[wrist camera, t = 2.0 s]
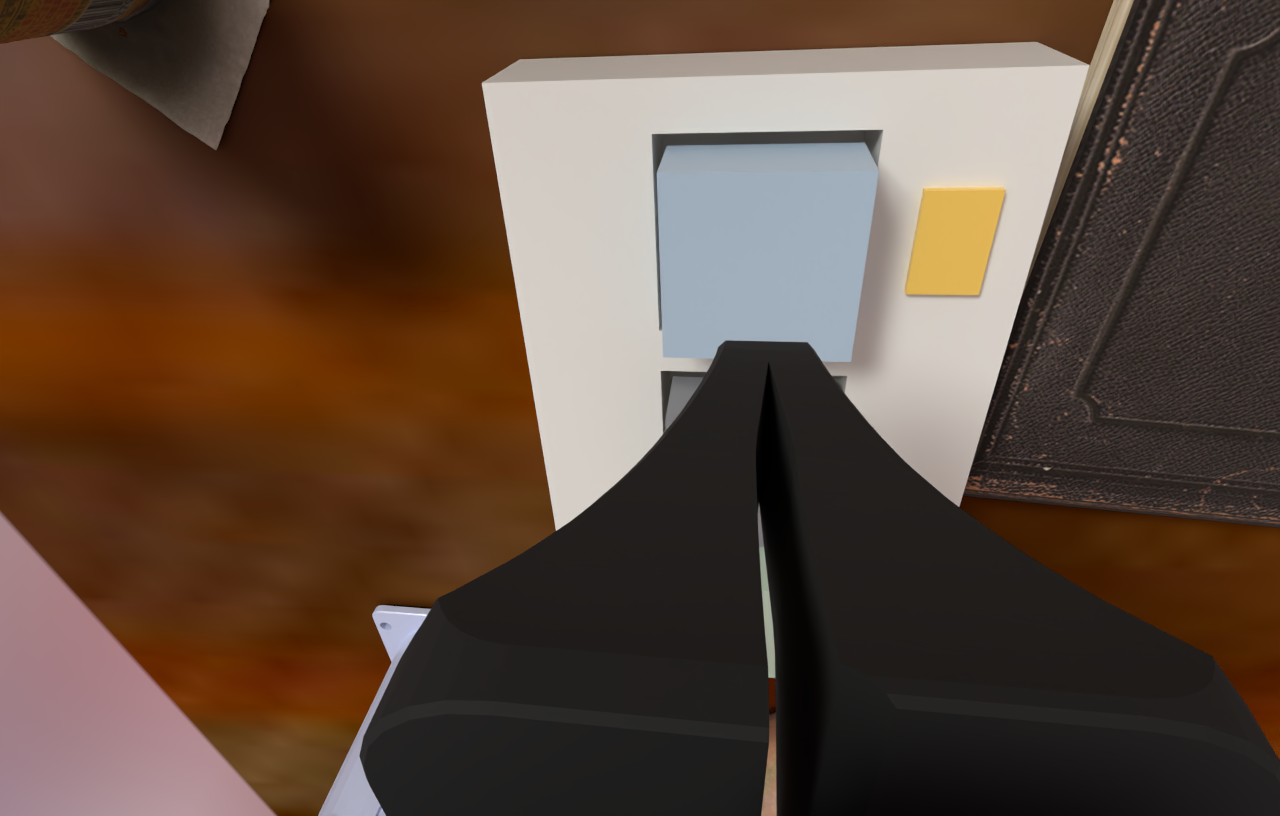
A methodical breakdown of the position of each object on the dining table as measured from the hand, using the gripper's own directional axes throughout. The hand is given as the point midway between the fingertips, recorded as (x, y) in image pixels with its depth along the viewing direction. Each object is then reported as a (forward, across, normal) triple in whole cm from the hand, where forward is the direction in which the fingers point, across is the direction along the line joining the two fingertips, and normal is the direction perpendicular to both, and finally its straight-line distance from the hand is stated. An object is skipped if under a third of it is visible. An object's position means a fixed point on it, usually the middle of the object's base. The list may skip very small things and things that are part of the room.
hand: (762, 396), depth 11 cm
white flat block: (+9, 0, +6) cm, 11 cm away
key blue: (+7, 0, 0) cm, 7 cm away
